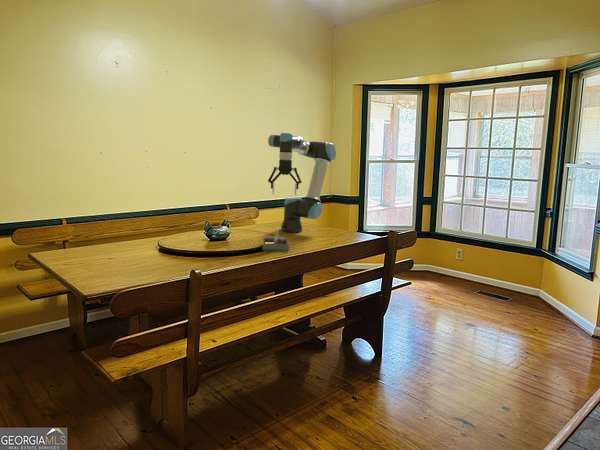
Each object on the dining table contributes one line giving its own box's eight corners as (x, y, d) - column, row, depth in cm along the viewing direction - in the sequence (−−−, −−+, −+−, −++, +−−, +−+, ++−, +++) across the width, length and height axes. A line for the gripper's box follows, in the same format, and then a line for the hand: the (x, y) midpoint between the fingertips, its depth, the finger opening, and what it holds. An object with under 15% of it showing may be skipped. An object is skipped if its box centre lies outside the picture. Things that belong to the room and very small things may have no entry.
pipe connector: (284, 244, 268) (286, 228, 265) (282, 249, 258) (284, 233, 256) (267, 242, 268) (269, 226, 266) (265, 247, 258) (267, 230, 256)
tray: (262, 244, 270) (262, 237, 269) (287, 245, 271) (287, 238, 271) (262, 250, 255) (262, 244, 255) (288, 251, 257) (288, 244, 256)
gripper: (264, 159, 262) (264, 194, 267) (306, 160, 265) (305, 195, 270) (264, 157, 270) (263, 192, 274) (305, 159, 272) (303, 193, 277)
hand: (284, 194), depth 272 cm, fingers open, 13 cm apart
